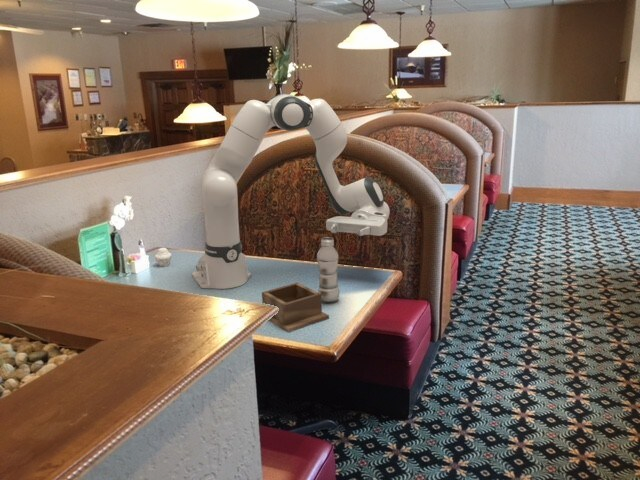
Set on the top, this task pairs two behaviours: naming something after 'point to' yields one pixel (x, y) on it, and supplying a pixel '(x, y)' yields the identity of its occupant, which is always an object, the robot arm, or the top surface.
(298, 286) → the bottle caddy
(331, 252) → the plastic bottle
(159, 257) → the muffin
